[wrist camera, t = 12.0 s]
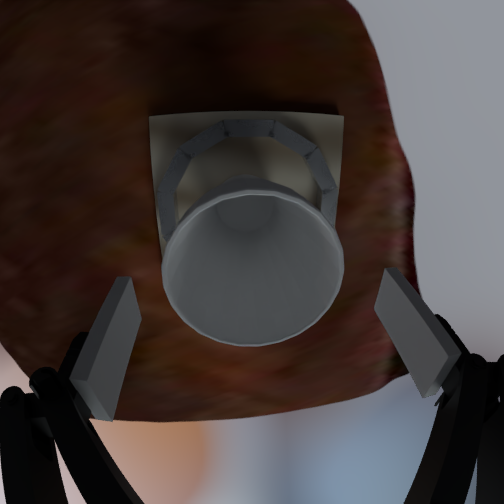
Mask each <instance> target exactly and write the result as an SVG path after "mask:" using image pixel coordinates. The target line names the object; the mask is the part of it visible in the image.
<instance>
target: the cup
mask: <svg viewBox="0 0 504 504" xmlns="http://www.w3.org/2000/svg"><path fill="white" fill-rule="evenodd" d="M161 269H162V279H163V287H164V290H165V292H166V295H167V297H168V299H169V302H170V304H171V306H172V307H173V308H174V310H175V311H176V312H177V313H178V315H179V316H180V317H181V318H182V320H183V321H184V322H185V323H186V324H188V325H189V326H190V327H192V328H193V329H194V330H196V331H197V332H199V333H200V334H202V335H204V336H206V337H209V338H211V339H213V340H215V341H218V342H221V343H226V344H231V345H236V346H263V345H268V344H273V343H278V342H282V341H284V340H286V339H289V338H291V337H294V336H296V335H298V334H300V333H302V332H303V331H305V330H306V329H307V328H309V327H310V326H312V325H313V324H315V323H316V322H317V321H318V320H319V319H320V318H321V317H322V316H323V314H324V313H325V312H326V311H327V310H328V309H329V308H330V306H331V304H332V302H333V301H334V299H335V297H336V295H337V293H338V292H339V290H340V286H341V282H342V277H343V273H344V257H343V248H342V246H341V243H340V240H339V238H338V235H337V232H336V230H335V228H334V227H333V226H332V225H331V223H330V222H329V221H328V220H327V218H326V217H325V216H324V214H323V213H322V212H321V211H320V210H319V209H318V208H316V207H315V206H314V205H313V204H312V203H311V202H310V201H308V200H307V199H306V198H304V197H303V196H301V195H300V194H298V193H297V192H295V191H294V190H292V189H291V188H289V187H286V186H283V185H281V184H278V183H275V182H272V181H269V180H265V179H262V178H259V177H257V176H254V175H249V174H241V175H236V176H233V177H231V178H229V179H227V180H226V181H224V182H223V183H222V184H221V185H219V186H217V187H215V188H213V189H211V190H210V191H208V192H207V193H206V194H204V195H203V196H202V197H200V198H199V199H198V200H197V201H196V202H195V203H194V204H193V205H192V206H191V207H190V208H189V209H188V210H187V211H186V212H185V214H184V215H183V217H182V218H181V220H180V221H179V223H178V224H177V226H176V228H175V229H174V231H173V233H172V235H171V236H170V238H169V240H168V242H167V244H166V246H165V251H164V256H163V260H162V265H161Z"/></svg>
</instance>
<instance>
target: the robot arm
mask: <svg viewBox="0 0 504 504" xmlns="http://www.w3.org/2000/svg"><path fill="white" fill-rule="evenodd" d="M374 310H375V312H376V313H377V315H378V317H379V319H380V320H381V322H382V324H383V325H384V327H385V329H386V331H387V332H388V334H389V336H390V338H391V340H392V341H393V343H394V345H395V347H396V349H397V350H398V352H399V354H400V356H401V358H402V359H403V361H404V363H405V365H406V367H407V369H408V371H409V373H410V375H411V376H412V378H413V380H414V382H415V384H416V386H417V388H418V390H419V392H420V394H421V396H422V398H425V397H428V396H431V395H435V394H436V393H437V391H438V390H439V388H440V387H441V386H442V388H443V390H444V392H443V393H442V395H441V396H440V397H439V399H438V400H437V402H436V403H435V405H434V406H437V405H438V403H439V406H438V410H437V414H436V418H435V421H434V424H433V428H432V431H431V434H430V437H429V441H428V443H427V446H426V449H425V452H424V455H423V458H422V461H421V464H420V466H419V469H418V471H417V474H416V476H415V479H414V481H413V483H412V486H411V488H410V491H409V493H408V495H407V497H406V499H405V502H404V504H464V503H465V500H466V497H467V494H468V490H469V487H470V483H471V480H472V476H473V472H474V468H475V464H476V459H477V486H476V500H475V504H504V354H503V355H501V356H500V358H499V359H498V361H497V362H486V360H485V359H484V358H483V357H482V356H480V355H478V354H474V353H472V354H470V352H469V351H468V349H467V348H466V347H465V345H464V344H463V342H462V341H461V340H460V338H459V337H458V336H457V334H455V331H454V330H453V329H451V326H450V325H449V323H448V322H447V321H446V320H445V319H444V318H443V317H441V316H440V315H438V314H435V315H434V314H433V313H432V311H431V310H430V309H429V307H428V306H427V305H426V303H425V302H424V301H423V300H422V298H421V297H420V296H419V295H418V293H417V292H416V291H415V289H414V288H413V287H412V286H411V285H410V283H409V282H408V281H407V280H406V278H405V277H404V276H403V275H402V274H401V272H400V271H399V270H398V269H397V268H385V270H384V274H383V278H382V281H381V285H380V289H379V293H378V296H377V300H376V303H375V307H374ZM140 322H141V315H140V311H139V307H138V304H137V300H136V296H135V292H134V288H133V283H132V279H131V277H117V278H116V280H115V282H114V284H113V286H112V288H111V290H110V292H109V294H108V295H107V297H106V299H105V301H104V303H103V305H102V307H101V309H100V311H99V313H98V315H97V317H96V320H95V322H94V324H93V326H92V328H91V330H90V332H80V333H79V334H78V335H77V336H76V337H75V338H74V339H73V341H72V343H71V345H70V347H69V349H68V351H67V353H66V356H65V358H64V360H63V362H62V364H61V366H60V368H59V371H58V373H57V372H56V371H55V369H53V368H51V367H43V368H39V369H38V370H36V371H35V372H34V373H33V374H32V375H31V377H30V380H29V386H30V388H31V389H32V391H33V392H34V393H26V394H25V393H24V392H23V391H22V390H21V388H19V387H17V386H11V387H9V388H7V389H6V390H4V391H3V393H2V395H1V397H0V456H1V469H2V479H3V486H4V493H5V499H6V504H68V500H67V497H66V493H65V489H64V485H63V481H62V477H61V473H60V468H59V464H58V458H57V453H56V447H55V442H56V444H57V447H58V449H59V451H60V454H61V456H62V458H63V460H64V462H65V464H66V466H67V468H68V470H69V472H70V474H71V476H72V478H73V480H74V482H75V484H76V485H77V487H78V489H79V491H80V493H81V495H82V496H83V498H84V500H85V501H86V503H87V504H144V503H143V501H142V500H141V499H140V497H139V496H138V495H137V493H136V492H135V491H134V489H133V488H132V487H131V485H130V484H129V482H128V481H127V480H126V478H125V477H124V475H123V474H122V472H121V471H120V469H119V468H118V466H117V465H116V463H115V462H114V460H113V459H112V457H111V456H110V454H109V452H108V451H107V449H106V447H105V446H104V444H103V443H102V441H101V439H100V437H99V436H98V434H97V432H96V430H95V429H94V427H93V425H92V423H91V422H90V420H89V418H90V414H91V413H92V414H93V415H94V417H95V418H96V419H98V420H105V421H111V422H112V421H113V418H114V414H115V409H116V405H117V402H118V398H119V394H120V390H121V386H122V383H123V379H124V375H125V372H126V368H127V365H128V361H129V358H130V355H131V351H132V348H133V345H134V341H135V338H136V335H137V332H138V328H139V325H140ZM499 396H500V402H499V401H498V397H499ZM54 440H55V441H54Z"/></svg>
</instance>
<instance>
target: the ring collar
mask: <svg viewBox="0 0 504 504" xmlns="http://www.w3.org/2000/svg"><path fill="white" fill-rule="evenodd" d="M227 137H271V138H273V139H275V140H276V141H278V142H280V143H281V144H283V145H285V146H286V147H288V148H290V149H291V150H293V151H295V152H296V153H298V154H300V155H301V156H302V158H303V160H304V162H305V164H306V166H307V168H308V170H309V171H310V173H311V175H312V177H313V179H314V181H315V183H316V185H317V199H316V208H318V209H319V210H320V211H321V212H322V213H323V214H324V216H325V217H326V218H327V220H328V221H329V222H330V223H331V225H332V226H333V227H334V223H335V214H336V205H337V195H338V189H337V188H338V187H337V185H336V183H335V181H334V179H333V176H332V174H331V172H330V170H329V168H328V166H327V164H326V162H325V160H324V158H323V156H322V154H321V152H320V150H319V148H318V147H317V146H316V145H315V144H313V143H312V142H310V141H309V140H307V139H305V138H304V137H302V136H301V135H299V134H297V133H296V132H294V131H293V130H291V129H289V128H288V127H286V126H284V125H283V124H281V123H279V122H278V121H276V120H272V119H224V123H223V121H222V120H221V121H219V122H218V123H216V124H214V125H213V126H211V127H209V128H208V129H206V130H204V131H203V132H201V133H200V134H198V135H196V136H195V137H193V138H192V139H190V140H188V141H187V142H185V143H184V144H182V145H181V146H180V147H179V148H178V149H177V151H176V153H175V155H174V157H173V159H172V161H171V163H170V165H169V167H168V169H167V171H166V173H165V175H164V177H163V179H162V181H161V183H160V185H159V188H158V192H157V198H158V208H159V217H160V225H161V233H162V235H163V238H164V240H165V241H166V242H168V240H169V238H170V236H171V235H172V233H173V231H174V229H175V228H176V226H177V224H178V223H179V212H178V201H177V187H178V185H179V183H180V181H181V179H182V178H183V176H184V174H185V172H186V170H187V168H188V166H189V164H190V162H191V160H192V158H194V157H195V156H197V155H199V154H200V153H202V152H203V151H205V150H207V149H208V148H210V147H212V146H213V145H215V144H217V143H218V142H220V141H222V140H223V139H225V138H227Z"/></svg>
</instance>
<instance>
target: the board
mask: <svg viewBox="0 0 504 504" xmlns="http://www.w3.org/2000/svg"><path fill="white" fill-rule="evenodd" d="M224 119H272V120H276V121H278V122H279V123H281V124H283V125H284V126H286V127H288V128H289V129H291V130H293V131H294V132H296V133H297V134H299V135H301V136H302V137H304V138H305V139H307V140H309V141H310V142H312V143H313V144H315V145H316V146H317V147H318V148H319V150H320V152H321V154H322V156H323V158H324V160H325V162H326V164H327V166H328V168H329V170H330V172H331V174H332V176H333V179H334V181H335V183H336V185H337V187H338V188H337V189H338V192H339V182H340V170H341V157H342V142H343V124H344V116H339V115H329V114H317V113H302V112H280V111H217V112H196V113H181V114H169V115H158V116H149V129H150V147H151V161H152V174H153V185H154V195H155V205H156V214H157V222H158V230H159V238H160V245H161V252H162V259H163V256H164V251H165V246H166V244H167V242H166V241H165V240H164V238H163V235H162V233H161V225H160V217H159V208H158V198H157V192H158V188H159V185H160V183H161V181H162V179H163V177H164V175H165V173H166V171H167V169H168V167H169V165H170V163H171V161H172V159H173V157H174V155H175V153H176V151H177V149H178V148H179V147H180V146H181V145H182V144H184V143H185V142H187V141H188V140H190V139H192V138H193V137H195V136H196V135H198V134H200V133H201V132H203V131H204V130H206V129H208V128H209V127H211V126H213V125H214V124H216V123H218V122H219V121H221V120H222V121H223V123H224ZM241 174H249V175H254V176H257V177H259V178H262V179H265V180H269V181H272V182H275V183H278V184H281V185H283V186H286V187H289V188H291V189H292V190H294V191H295V192H297V193H298V194H300V195H301V196H303V197H304V198H306V199H307V200H308V201H310V202H311V203H312V204H313V205H314V206H315V207H316V199H317V185H316V183H315V181H314V179H313V177H312V175H311V173H310V171H309V170H308V168H307V166H306V164H305V162H304V160H303V158H302V156H301V155H300V154H298V153H296V152H295V151H293V150H291V149H290V148H288V147H286V146H285V145H283V144H281V143H280V142H278V141H276V140H275V139H273V138H271V137H227V138H225V139H223V140H222V141H220V142H218V143H217V144H215V145H213V146H212V147H210V148H208V149H207V150H205V151H203V152H202V153H200V154H199V155H197V156H195V157H194V158H192V160H191V162H190V164H189V166H188V168H187V170H186V172H185V174H184V176H183V178H182V179H181V181H180V183H179V185H178V187H177V201H178V212H179V221H180V220H181V218H182V217H183V215H184V214H185V212H186V211H187V210H188V209H189V208H190V207H191V206H192V205H193V204H194V203H195V202H196V201H197V200H198V199H199V198H200V197H202V196H203V195H204V194H206V193H207V192H208V191H210V190H211V189H213V188H215V187H217V186H219V185H221V184H222V183H223V182H224V181H226V180H227V179H229V178H231V177H233V176H236V175H241ZM337 202H338V195H337ZM336 212H337V205H336ZM335 221H336V214H335ZM334 228H335V223H334Z"/></svg>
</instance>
